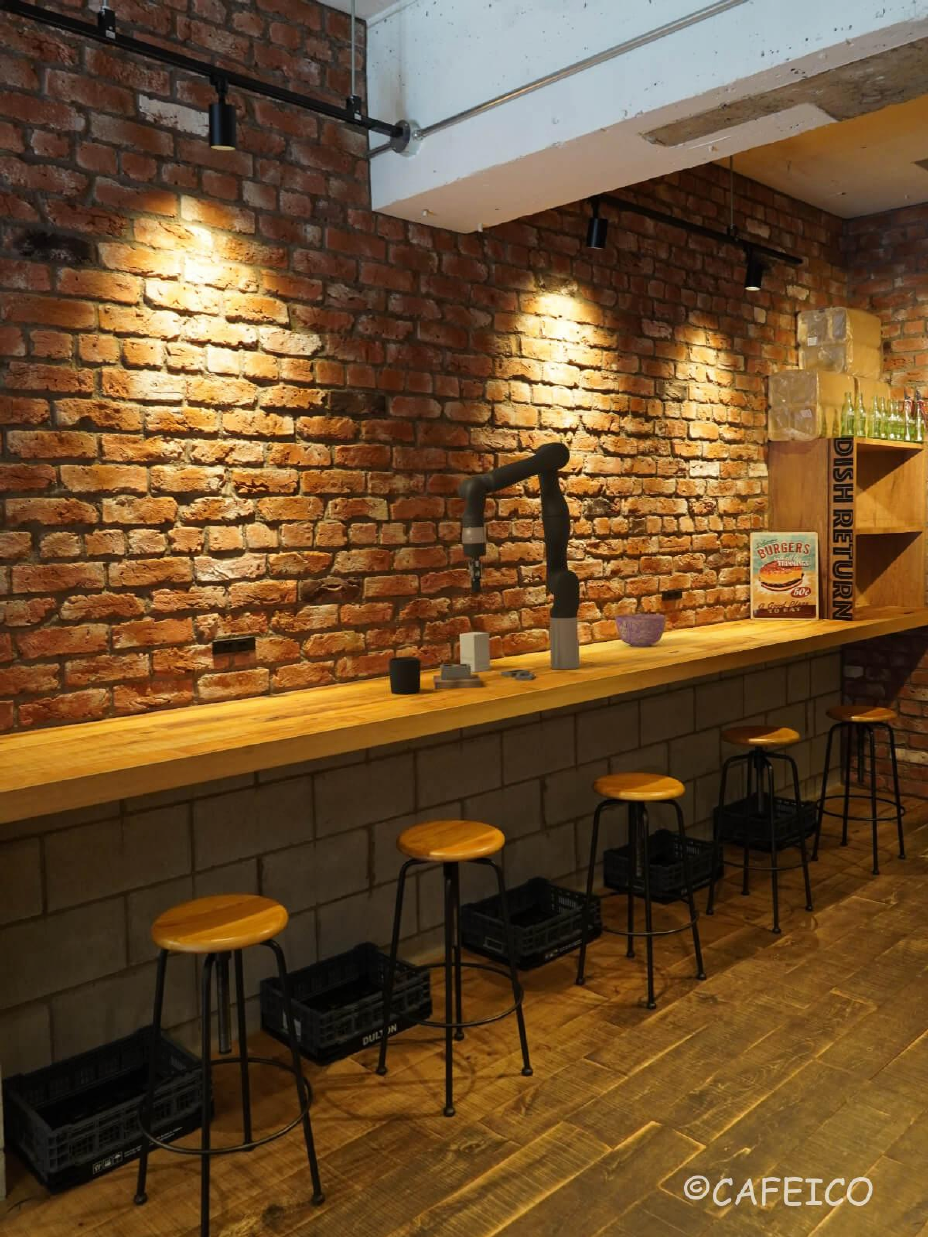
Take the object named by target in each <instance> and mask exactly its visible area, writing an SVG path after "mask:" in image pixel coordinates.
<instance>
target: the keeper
mask: <svg viewBox="0 0 928 1237" xmlns="http://www.w3.org/2000/svg"><path fill="white" fill-rule="evenodd" d="M453 666H460V665H453ZM432 677H433V686H434V689H435V690H438V689H439V690H441V689H443V690H444V689H445V690H446V689H470V688H471V689H472V688H473V689H474V688H475V689H476V688H482V686H483V683H482V679H481V678H480V676H479V674H478V673H474V674H473V673H471V679H460V680H441V675H433V676H432Z"/></svg>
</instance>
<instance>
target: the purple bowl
mask: <svg viewBox="0 0 928 1237" xmlns="http://www.w3.org/2000/svg"><path fill="white" fill-rule="evenodd" d="M614 620H615V624H616V629H617V632H618V635H619V638H620V639H621V641H622V642H623V643H624V644H627V645H629V646H630V647H631V648H632V647H633V648H647V647H648V648H649V647H652V645H654V644H656V643H658V642H659V641H660V640H661V638H662V637H663V633H664V630H665V626H666V620H667V616H666V615H663V614H651V613H650V614H647V613H642V614H641V613H640V614H639V613H637V614H634V613H633V614H621V615H615V616H614Z"/></svg>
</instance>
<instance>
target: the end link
mask: <svg viewBox="0 0 928 1237" xmlns="http://www.w3.org/2000/svg"><path fill="white" fill-rule="evenodd" d="M453 665H460V666H453ZM439 670H440V672H439V673H440V675H441V680H460V679H471V674H472V672H471V666H470V664H461V663H452V664H451V663H450V664H449V663H447V664H443V663H442V664H440V665H439Z"/></svg>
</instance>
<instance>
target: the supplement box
mask: <svg viewBox="0 0 928 1237" xmlns="http://www.w3.org/2000/svg"><path fill="white" fill-rule="evenodd" d="M459 652H460V653H459V655H460V656H459V657H460V664H470V666H471V673H477V672H478V673H480V672H486V671H490V670H491V659H490V658H491V656H490V655H491V654H490V633H489V632H479V631H472V632H464V633H460V634H459Z"/></svg>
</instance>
